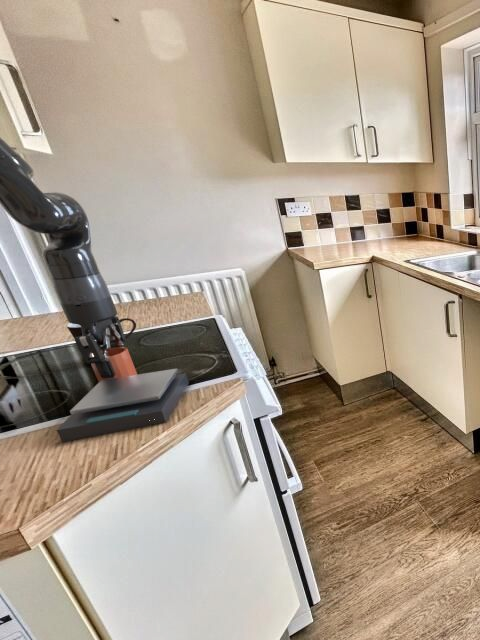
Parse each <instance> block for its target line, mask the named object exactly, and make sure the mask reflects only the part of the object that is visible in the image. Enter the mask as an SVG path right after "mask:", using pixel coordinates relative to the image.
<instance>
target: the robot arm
mask: <svg viewBox="0 0 480 640" xmlns="http://www.w3.org/2000/svg"><path fill="white" fill-rule="evenodd" d="M34 176H35V172H34V169H33V168H32V166H31V165H30V164H29V163H28V161H26V160H25V159H24V158H23V157H22V156H21V155H20V154H19V153H18V152H17V151H16V150H14V148H13V147H11V146H10V145H9V144H8V143H7V142H6V141H5V140H4V139H3V138H2V137H0V206H1V207H2V208H3V210H4V211H5V212H6V213H7V214H8V216H10V218H11V219H13V220H14V222H16V223H18V224H19V225H20V226H22V227H24V228H25V229H27V230H29V231H31V232H33V233H36V234H42V235H47V238H48V244H47V246H46V247H45V248H43V249H42V250H41V257H42V259H43V262H44V264H45V267H46V269H47V271H48V274H49V276H50V278H51V281H52V285H53V289H54V292H55V294H56V296H57V299H58V301H59V304H60V306H61V308H62V310H63V313H64V315H65V318H66V320H67V322H68V323H72V324H78V325H80V326H81V329H82V334H83V335H82V336H80V337H75V339H74V342H75V343H76V344H75V345H76V346H77V348H78V350H79V352H80V354H81V355H82V358H83V359H84V362H85V363H86V365H91V363H95V365H96V367H97V369H98V372H99V374H100V376H101V378H103V379H106V378H112V377H114V376H115V372H114V369H113V367H112V364H111V362H110V360H109V355H108V350H110V348H114V347H125V344H124V343H126V341H127V339H125V336H126V335H125V333H124V330H123V326H122V324H121V323H122V322H121V323H120V318H119V316H118V311H117V308H116V306H115V303H114V301H113V298H112V295H111V292H110V290H109V288H108V284H107V283H106V281H105V279H104V277H103V276H102V273H101V271H100V268H99V266H98V263H97V261H96V258H95V256H94V255H93V251H92V237H91V230H90V223H89V218H88V216H87V213H86V211H85V209H84V207H83V206H82V205H81V203H79V202H78V200H76V199H75V198H74V197H72V196H70V195H68V194H66V193H62V192H57V191H53V192H52V191H51V192H43V191H42V190H41V189H40V188H39V187H38V186H37V185H36V184H35V182H34V181H33V180H32V179H33V178H34ZM100 345H103V346H101V347H98V346H100ZM101 351H102V353H101ZM89 353H90V355H89Z"/></svg>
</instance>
